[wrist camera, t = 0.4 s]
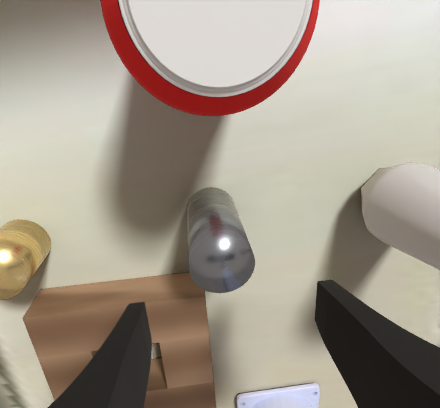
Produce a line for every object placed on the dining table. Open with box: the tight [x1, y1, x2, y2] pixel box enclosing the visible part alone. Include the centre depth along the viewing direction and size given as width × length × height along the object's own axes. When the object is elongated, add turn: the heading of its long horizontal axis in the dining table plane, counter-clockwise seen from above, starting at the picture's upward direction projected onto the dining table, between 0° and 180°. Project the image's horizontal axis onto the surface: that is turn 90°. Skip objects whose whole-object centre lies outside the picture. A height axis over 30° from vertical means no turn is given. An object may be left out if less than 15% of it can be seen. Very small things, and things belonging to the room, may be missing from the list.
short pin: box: [0, 220, 51, 300], centre depth 20 cm, size 3×3×4 cm
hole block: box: [23, 272, 216, 408], centre depth 25 cm, size 12×12×3 cm
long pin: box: [187, 188, 255, 293], centre depth 20 cm, size 3×3×7 cm
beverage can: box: [100, 0, 320, 116], centre depth 13 cm, size 6×6×12 cm
